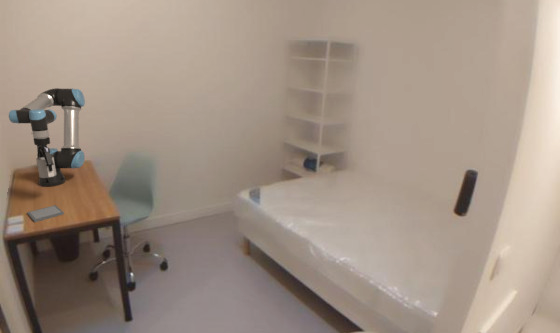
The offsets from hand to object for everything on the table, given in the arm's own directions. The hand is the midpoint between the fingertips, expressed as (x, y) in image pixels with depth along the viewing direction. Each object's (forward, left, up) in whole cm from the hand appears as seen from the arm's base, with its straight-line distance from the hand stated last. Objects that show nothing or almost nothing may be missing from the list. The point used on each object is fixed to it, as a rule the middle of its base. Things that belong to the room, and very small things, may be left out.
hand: (47, 173), depth 202 cm
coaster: (+15, -8, -18) cm, 25 cm away
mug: (0, 0, -2) cm, 2 cm away
